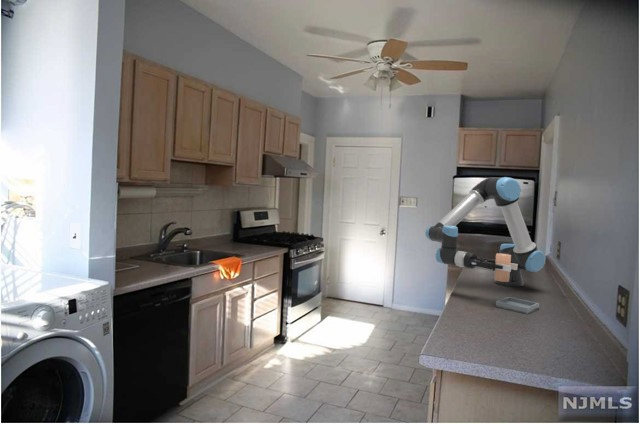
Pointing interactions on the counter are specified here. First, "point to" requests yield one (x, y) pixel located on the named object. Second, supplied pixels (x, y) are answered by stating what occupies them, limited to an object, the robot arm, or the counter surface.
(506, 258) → the light orange tall cylinder
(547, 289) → the counter surface
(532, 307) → the grey tray
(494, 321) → the counter surface
